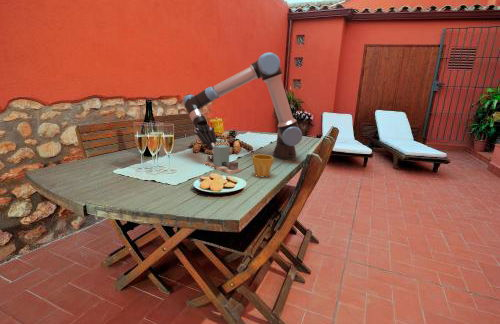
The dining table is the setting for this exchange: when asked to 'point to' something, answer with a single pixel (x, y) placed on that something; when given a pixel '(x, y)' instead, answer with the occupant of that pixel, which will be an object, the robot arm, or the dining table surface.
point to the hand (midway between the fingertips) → (216, 154)
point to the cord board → (223, 166)
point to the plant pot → (262, 164)
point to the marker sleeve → (221, 155)
